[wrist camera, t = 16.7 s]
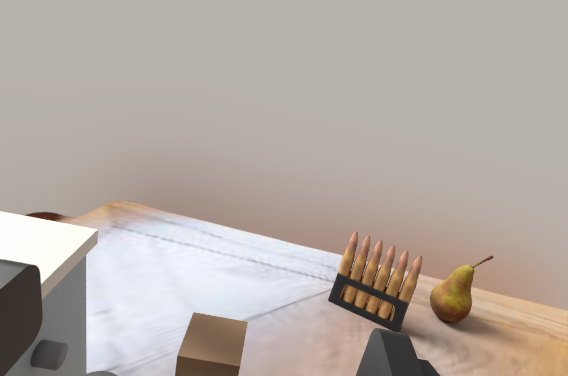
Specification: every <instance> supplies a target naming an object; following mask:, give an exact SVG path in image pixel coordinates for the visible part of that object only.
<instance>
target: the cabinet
mask: <svg viewBox="0 0 568 376" xmlns="http://www.w3.org/2000/svg"><path fill="white" fill-rule="evenodd" d="M97 240H98V230H97V229H92V228H87V227H81V226H76V225H71V224H65V223H60V222H55V221H49V220H44V219H39V218H33V217H28V216H22V215H17V214H11V213H6V212H1V211H0V259H5V260H11V261H16V262H22V263H27V264H33V265H36V266H37V267H38V268H39V270H40V277H41V294H42V311H43V320H42V325H41V328H40V331H39V333H38V335H37V337H36V339H35V340H34V342H33V343H32V345H31V346H30V347H29V348H28V349H27V351H26V352H25V353H24V354H23V355H22V356H21V357H20V359H19V360H18V361H17V362H16V363H15V364H14V366H13V367H12V368H11V369H10V370H9V371H8V372H7V374H6V375H5V376H86V254H87V253H88V252H89V251H90V250H91V249H92V248H93V247H94V246H95V245H96V244H97Z"/></svg>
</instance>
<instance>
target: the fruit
mask: <svg viewBox="0 0 568 376" xmlns="http://www.w3.org/2000/svg"><path fill="white" fill-rule="evenodd" d="M492 258H493V256H490V257H488V258H486V259H484V260H482V261H481V262H480V263H477V264H475V265H473V266H470V265H464V266H461V267H459V268H458V269H456V270H455V271H454V272H453V273H452V274H451V275H450V276H449V277H448V278H447V279H446V280H445V281H444V282H442V283H441V284H439V285H437V286H436V287H435V288H434V289H433V291H432V292H431V296H430V303H431V307H432V309H433V311H434V313H435V314H436V315H437V316H438V317H439V318H441V319H443V320H445V321H448V322H458V321H460V320H462V319H464V318H465V317H466V316H467V315H468V314H469V312H470V310H471V306H472V299H471V284H472V280H473V273H474V269H473V268H474V267H475V266H477V265H479V264H481V263H483V262H485V261H487V260H490V259H492Z"/></svg>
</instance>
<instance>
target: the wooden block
mask: <svg viewBox="0 0 568 376" xmlns="http://www.w3.org/2000/svg"><path fill="white" fill-rule="evenodd" d="M247 323H248V322H245V321H239V320H233V319H228V318H222V317H217V316H211V315H205V314H200V313H193V315H192V318H191V321H190V323H189V326H188V329H187V331H186V334H185V337H184V340H183V342H182V345H181V348H180V350H179V353H178V356H177V364H176V372H175V376H238V373H239V369H240V363H241V357H242V352H243V346H244V340H245V334H246V328H247Z"/></svg>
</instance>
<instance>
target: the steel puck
mask: <svg viewBox="0 0 568 376" xmlns="http://www.w3.org/2000/svg"><path fill="white" fill-rule="evenodd" d="M86 376H117V375H115V374H114V373H111V372H107V371H96V372H91V373H88V374H86Z"/></svg>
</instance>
